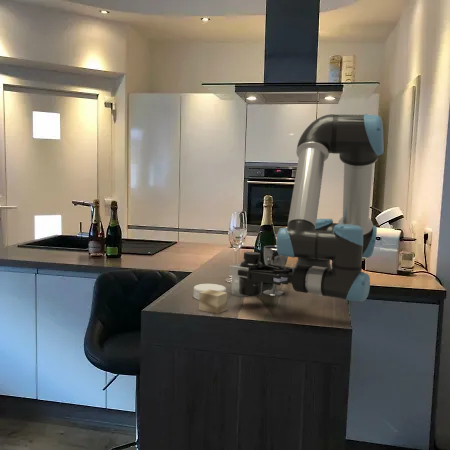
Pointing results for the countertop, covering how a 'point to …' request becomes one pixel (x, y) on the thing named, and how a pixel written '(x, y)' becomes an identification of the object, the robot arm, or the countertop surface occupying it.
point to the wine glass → (275, 259)
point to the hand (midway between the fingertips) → (236, 268)
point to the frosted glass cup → (236, 284)
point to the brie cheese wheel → (205, 287)
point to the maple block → (213, 301)
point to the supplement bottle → (244, 285)
